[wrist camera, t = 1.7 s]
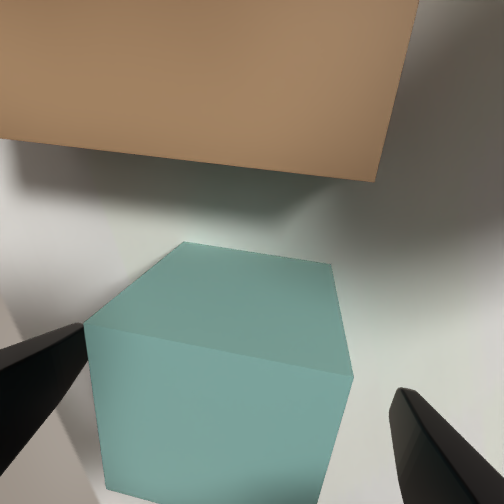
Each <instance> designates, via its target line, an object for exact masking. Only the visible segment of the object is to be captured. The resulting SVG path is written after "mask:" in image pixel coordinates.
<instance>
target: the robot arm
mask: <svg viewBox="0 0 504 504" xmlns="http://www.w3.org/2000/svg"><path fill="white" fill-rule="evenodd" d="M87 361H88V354H87V346H86V339H85V332H84V325H83V323H74V324H71V325H68V326H65V327H63V328H60V329H57V330H54V331H51V332H48V333H46V334H43V335H40V336H37V337H34V338H32V339H29V340H26V341H23V342H20V343H17V344H15V345H12V346H9V347H7V348H4V349H0V476H1V475H2V474H3V472H4V471H5V470H6V469H7V468H8V466H9V465H10V464H11V463H12V461H13V460H14V459H15V457H16V456H17V455H18V454H19V452H20V451H21V450H22V449H23V448H24V446H25V445H26V444H27V443H28V441H29V440H30V439H31V438H32V436H33V435H34V434H35V433H36V431H37V430H38V429H39V428H40V426H41V425H42V424H43V423H44V421H45V420H46V419H47V417H48V416H49V415H50V414H51V413H52V411H53V410H54V409H55V408H56V406H57V405H58V404H59V402H60V401H61V400H62V398H63V397H64V395H65V394H66V393H67V391H68V390H69V388H70V387H71V385H72V384H73V382H74V381H75V379H76V378H77V376H78V375H79V373H80V372H81V370H82V369H83V367H84V366H85V364H86V363H87ZM389 422H390V428H391V435H392V442H393V449H394V456H395V463H396V470H397V476H398V481H399V486H400V490H401V495H402V499H403V503H404V504H504V478H503V477H502V476H501V475H500V474H499V473H498V472H497V471H496V470H495V469H494V468H493V467H492V466H491V465H490V464H489V463H488V462H487V461H486V460H485V459H484V458H483V457H482V456H481V455H480V454H479V453H478V452H477V451H476V450H475V449H474V448H473V447H472V446H471V445H470V444H469V443H468V442H467V441H466V440H465V439H464V438H463V437H462V436H461V435H460V434H459V433H458V432H457V431H456V430H455V429H454V428H453V427H452V426H451V425H450V424H449V423H448V422H447V421H446V420H445V419H444V418H443V417H442V416H441V415H440V414H439V413H438V412H437V411H436V410H435V409H434V408H433V407H432V406H431V405H430V404H429V403H428V402H427V401H426V400H425V399H424V398H423V397H422V396H421V395H420V394H419V393H418V392H417V391H415V390H412V389H407V388H402V387H400V388H398V389H397V390H396V393H395V396H394V398H393V401H392V404H391V406H390V409H389Z"/></svg>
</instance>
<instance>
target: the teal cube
mask: <svg viewBox="0 0 504 504" xmlns="http://www.w3.org/2000/svg"><path fill="white" fill-rule="evenodd" d="M83 325H84V332H85V339H86V346H87V354H88V361H89V368H90V375H91V383H92V390H93V397H94V404H95V412H96V419H97V426H98V433H99V441H100V448H101V455H102V462H103V470H104V477H105V484H106V489H108V490H111V491H115V492H119V493H122V494H126V495H130V496H133V497H137V498H140V499H144V500H148V501H151V502H155V503H159V504H317V502H318V498H319V495H320V491H321V488H322V485H323V481H324V478H325V474H326V471H327V467H328V464H329V461H330V457H331V454H332V450H333V447H334V443H335V440H336V437H337V433H338V430H339V426H340V423H341V419H342V416H343V413H344V409H345V406H346V402H347V399H348V395H349V392H350V389H351V385H352V382H353V378H354V376H353V371H352V366H351V361H350V356H349V351H348V346H347V341H346V337H345V332H344V327H343V322H342V317H341V312H340V307H339V302H338V297H337V292H336V287H335V282H334V277H333V273H332V268H331V264H325V263H319V262H312V261H306V260H299V259H293V258H286V257H280V256H273V255H267V254H261V253H254V252H248V251H241V250H235V249H228V248H222V247H215V246H209V245H202V244H196V243H189V242H183V243H182V244H180V245H179V246H178V247H177V248H175V249H174V250H173V251H172V252H170V253H169V254H168V255H167V256H165V257H164V258H163V259H162V260H161V261H159V262H158V263H157V264H156V265H154V266H153V267H152V268H151V269H149V270H148V271H147V272H146V273H144V274H143V275H142V276H141V277H140V278H138V279H137V280H136V281H135V282H133V283H132V284H131V285H130V286H128V287H127V288H126V289H125V290H124V291H122V292H121V293H120V294H119V295H117V296H116V297H115V298H114V299H112V300H111V301H110V302H109V303H107V304H106V305H105V306H104V307H103V308H101V309H100V310H99V311H98V312H96V313H95V314H94V315H93V316H91V317H90V318H89V319H88V320H87V321H85V322H84V323H83Z"/></svg>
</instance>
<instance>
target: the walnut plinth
mask: <svg viewBox="0 0 504 504" xmlns="http://www.w3.org/2000/svg"><path fill="white" fill-rule="evenodd" d="M418 4H419V0H0V138H2V139H10V140H19V141H27V142H36V143H44V144H52V145H61V146H69V147H78V148H86V149H95V150H103V151H112V152H120V153H129V154H137V155H146V156H154V157H163V158H171V159H180V160H188V161H197V162H205V163H214V164H222V165H231V166H239V167H248V168H256V169H265V170H273V171H282V172H290V173H299V174H307V175H316V176H324V177H333V178H341V179H350V180H358V181H367V182H375V178H376V174H377V170H378V166H379V162H380V158H381V154H382V149H383V145H384V141H385V137H386V133H387V129H388V125H389V121H390V117H391V113H392V109H393V105H394V101H395V97H396V93H397V89H398V85H399V81H400V77H401V73H402V69H403V64H404V60H405V56H406V52H407V48H408V44H409V40H410V36H411V32H412V28H413V24H414V20H415V16H416V12H417V8H418Z"/></svg>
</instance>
